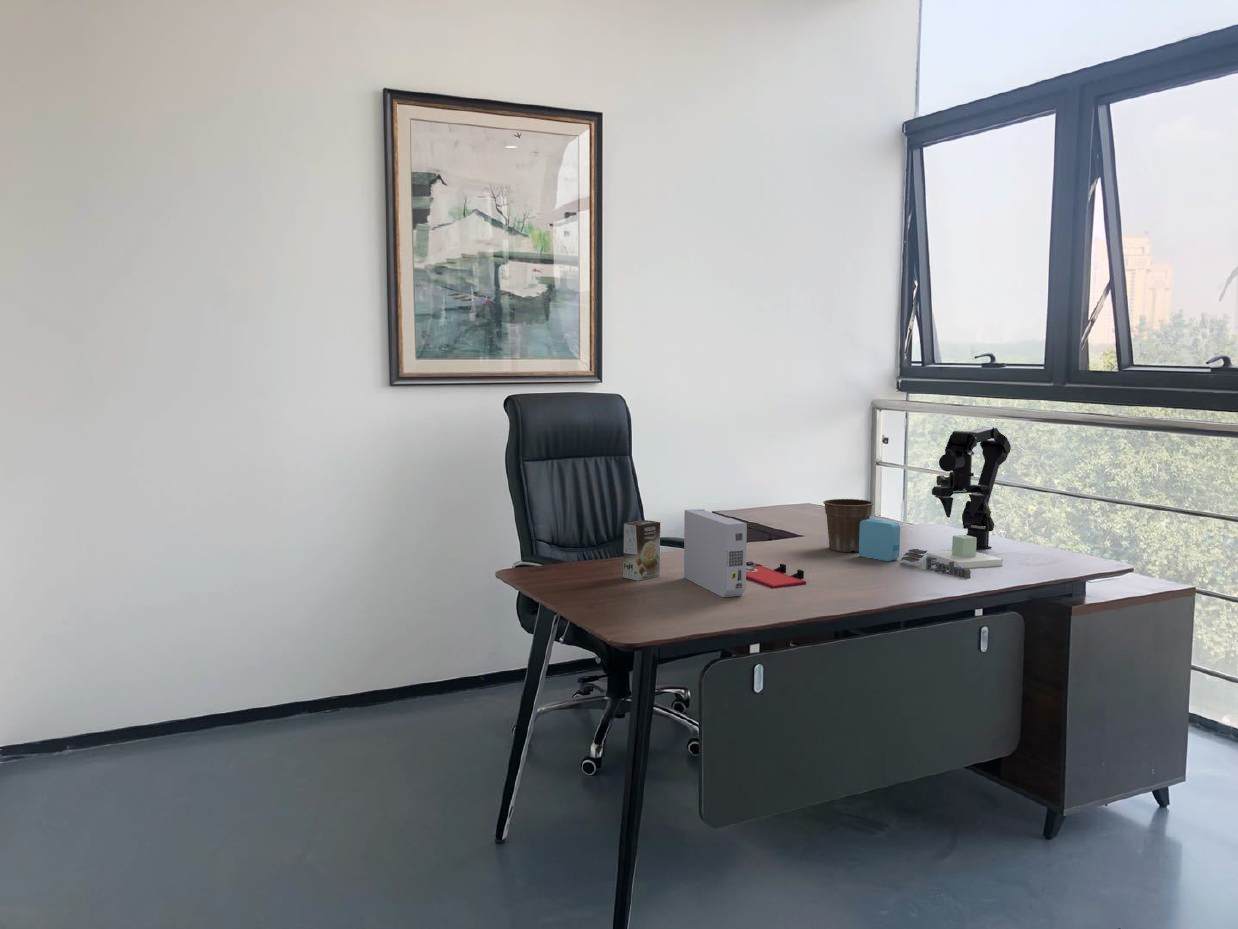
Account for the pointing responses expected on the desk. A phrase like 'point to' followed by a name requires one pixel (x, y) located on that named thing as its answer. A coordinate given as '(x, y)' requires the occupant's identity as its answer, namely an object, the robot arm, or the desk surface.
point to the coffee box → (641, 550)
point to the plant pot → (846, 522)
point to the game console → (715, 552)
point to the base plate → (966, 559)
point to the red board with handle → (773, 576)
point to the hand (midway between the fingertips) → (960, 516)
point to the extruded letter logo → (939, 566)
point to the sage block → (964, 546)
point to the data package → (879, 539)
